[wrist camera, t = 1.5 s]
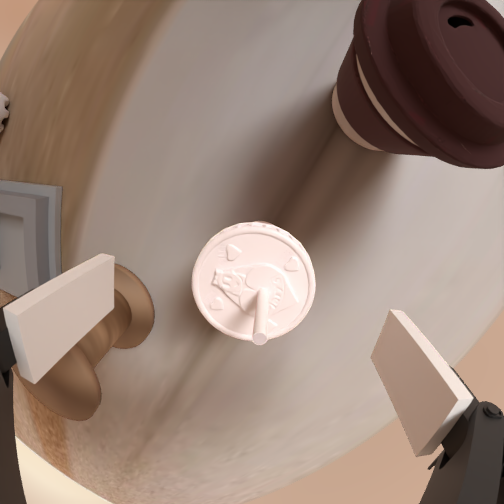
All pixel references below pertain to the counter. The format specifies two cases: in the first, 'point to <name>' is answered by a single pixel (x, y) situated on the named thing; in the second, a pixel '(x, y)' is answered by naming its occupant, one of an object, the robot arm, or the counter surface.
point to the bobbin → (95, 351)
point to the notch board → (17, 238)
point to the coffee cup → (425, 80)
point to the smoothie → (253, 281)
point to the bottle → (3, 109)
